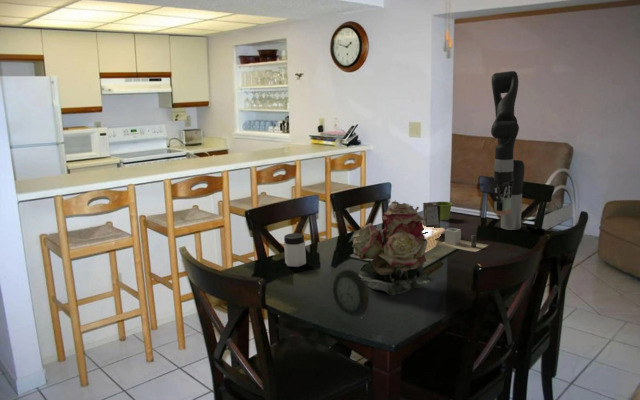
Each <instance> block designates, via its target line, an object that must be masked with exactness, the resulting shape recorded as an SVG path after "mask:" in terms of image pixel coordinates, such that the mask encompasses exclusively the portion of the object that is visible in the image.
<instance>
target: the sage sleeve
mask: <svg viewBox="0 0 640 400" xmlns="http://www.w3.org/2000/svg"><path fill="white" fill-rule="evenodd" d="M493 203H494V204H493V205H494V207H493V208H494V209H493V214H498V215H501V214H505V215H506V214H508V213H510V212H511V198H503V208H502V211H497V202H496V201H494V200H493Z"/></svg>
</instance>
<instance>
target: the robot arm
mask: <svg viewBox="0 0 640 400" xmlns="http://www.w3.org/2000/svg"><path fill="white" fill-rule="evenodd" d="M491 88H492V94H493V103H494V109H495V111H494V112H495V119H494V121H493V123H492V125H491V130H490V133H491V136H492V137H493V138H494V139H497V145H495V149H494V151H495V152H494V153H495V155H494V165H493V167H494V169H493V181H494V182H496V183H497V184H496V187H493V188H492V192H493V193H492V194H493V202H494V201H496V202H497V211H502V208H503V198H511V212H510V213H508V214H506V215H505V214H500V228H501V229H502V230H507V231H515V230H516V231H517V230H520V229H521V228H522V208H523V206H522V205H523V188H524V177H525V163H524V161H523V160H520V159H519V160H518V159H514V149H515V142H516V140H517V136H518V133H519V130H520V126H519V124H518V119H517V117H516V116H515V106H516V104H515V103H516V99H517V95H518V91H519V76H518V73H517V72H516V71H514V70H510V71H503V72H496V73H493V74H492V76H491ZM502 94H505V95H504V96H502ZM511 182H512V183H511Z"/></svg>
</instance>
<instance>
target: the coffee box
mask: <svg viewBox="0 0 640 400" xmlns="http://www.w3.org/2000/svg"><path fill="white" fill-rule="evenodd" d="M437 202H438V201H432V202H431V201H430V202H423V203H422V217H425V218H426V219H425V220H422V226H423V225H424V226H426V227H434V228H440V229H441V220H440V205H439V204H438V203H437Z"/></svg>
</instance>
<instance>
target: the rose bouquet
mask: <svg viewBox="0 0 640 400" xmlns="http://www.w3.org/2000/svg"><path fill="white" fill-rule="evenodd" d="M419 208H420V207H419V206H416V207H415V208H414V206H413V205H411V204H409V203H405V202H402V203H399V202H398V201H397V200H394V201H391V203H390V204H389V205H388V207H387V210H386V212H383V214H382V222H383V224H384V228H383V229H381V228H378V227H376V226H374V225H373V223H371V222H369V223H367V224H366V225H363V226H360V228H359V230H358V232H357V233H356V234H354V235H352V238H353V239H352V243H353V244H352V245H351V247H353V253H354V256H357V257H359V259H358V260H359V261H362V260H368V262H367V263H365V264H364V265H362V267H361V268H360V270H359V271H360V272H359V274H358V275H357V276H358V277H359V278H361V280H362V281H364V282H367V287H369V288H370V289H373V290H379V291H383V292H386V293H387V294H388V296H394V295H395V296H396V295H400V294H404V293H406V292H408V291H410V290H413V289H418V288H424V286H423V284H424V283H425V284H427V283H430V282H431V280H430V279H429V275H428V274H427V273H426V272H425V269H424V265H425V263H426V262H427V259H426V250H427V245H428V240H427V238H426V237H425V235H424V234H426V233H428V232H425V233H423V230H424V228H423V220H425V219H426V218H425V217H423V215H420V214H418V211H419Z"/></svg>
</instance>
